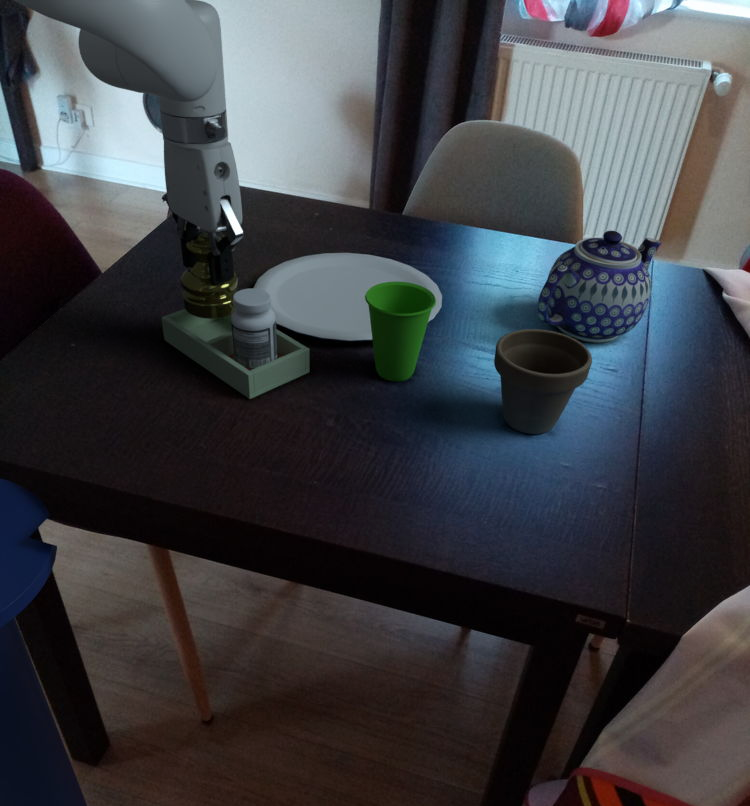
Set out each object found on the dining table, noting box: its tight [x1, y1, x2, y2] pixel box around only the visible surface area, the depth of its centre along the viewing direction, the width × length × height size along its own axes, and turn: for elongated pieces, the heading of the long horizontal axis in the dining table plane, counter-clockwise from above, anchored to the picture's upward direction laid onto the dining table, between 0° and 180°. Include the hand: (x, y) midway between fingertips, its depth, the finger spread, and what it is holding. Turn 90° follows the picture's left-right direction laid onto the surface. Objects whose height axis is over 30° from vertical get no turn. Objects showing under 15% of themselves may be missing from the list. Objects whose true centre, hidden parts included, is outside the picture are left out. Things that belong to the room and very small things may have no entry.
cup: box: [365, 282, 436, 382], centre depth 103 cm, size 9×9×11 cm
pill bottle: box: [231, 287, 278, 371], centre depth 101 cm, size 6×6×10 cm
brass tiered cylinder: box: [180, 232, 239, 319], centre depth 103 cm, size 7×7×10 cm
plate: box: [253, 252, 443, 343], centre depth 121 cm, size 29×29×2 cm
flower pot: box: [493, 328, 593, 435], centre depth 96 cm, size 12×11×10 cm
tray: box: [160, 308, 311, 400], centre depth 106 cm, size 10×19×4 cm, turn 45°
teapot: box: [536, 230, 662, 344], centre depth 114 cm, size 25×15×15 cm, turn 125°
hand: (208, 271), depth 103 cm, fingers closed on brass tiered cylinder, 5 cm apart
